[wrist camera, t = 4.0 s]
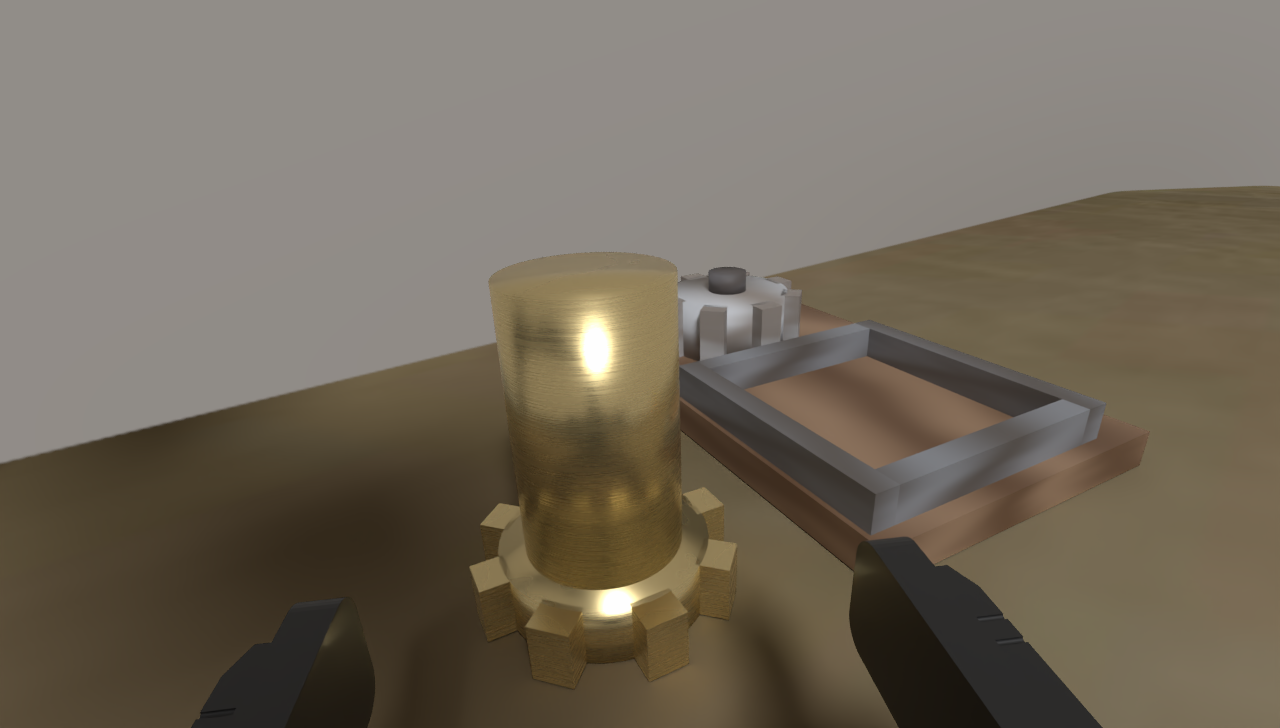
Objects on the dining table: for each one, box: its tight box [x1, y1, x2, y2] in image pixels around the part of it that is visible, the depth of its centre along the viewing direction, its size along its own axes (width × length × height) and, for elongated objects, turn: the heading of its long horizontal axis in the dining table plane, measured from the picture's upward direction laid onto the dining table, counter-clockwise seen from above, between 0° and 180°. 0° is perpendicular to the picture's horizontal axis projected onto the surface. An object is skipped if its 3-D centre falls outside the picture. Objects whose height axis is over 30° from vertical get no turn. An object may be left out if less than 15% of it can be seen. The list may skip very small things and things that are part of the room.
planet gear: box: [469, 252, 737, 689], centre depth 18 cm, size 8×8×10 cm
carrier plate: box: [678, 267, 1150, 571], centre depth 29 cm, size 14×21×6 cm, turn 27°
